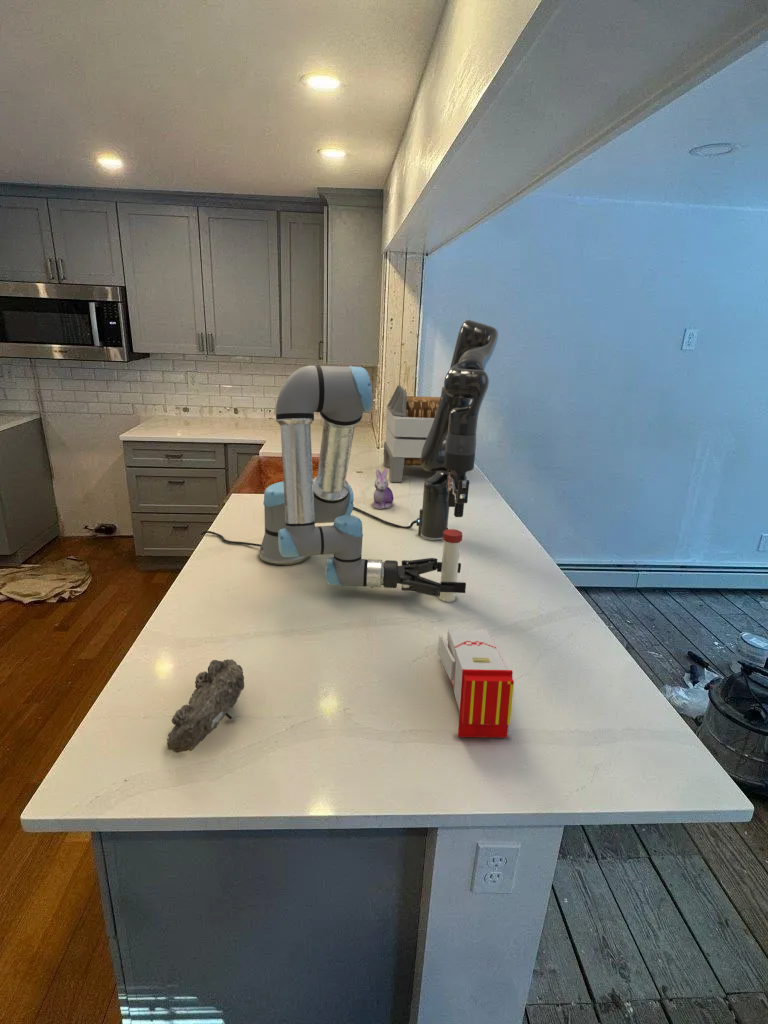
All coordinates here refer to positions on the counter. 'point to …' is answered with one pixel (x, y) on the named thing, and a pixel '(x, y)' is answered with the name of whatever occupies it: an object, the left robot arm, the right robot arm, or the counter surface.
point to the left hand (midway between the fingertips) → (462, 577)
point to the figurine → (382, 491)
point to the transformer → (407, 430)
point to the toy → (478, 682)
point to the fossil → (206, 705)
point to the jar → (449, 567)
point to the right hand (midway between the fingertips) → (454, 511)
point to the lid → (452, 536)
